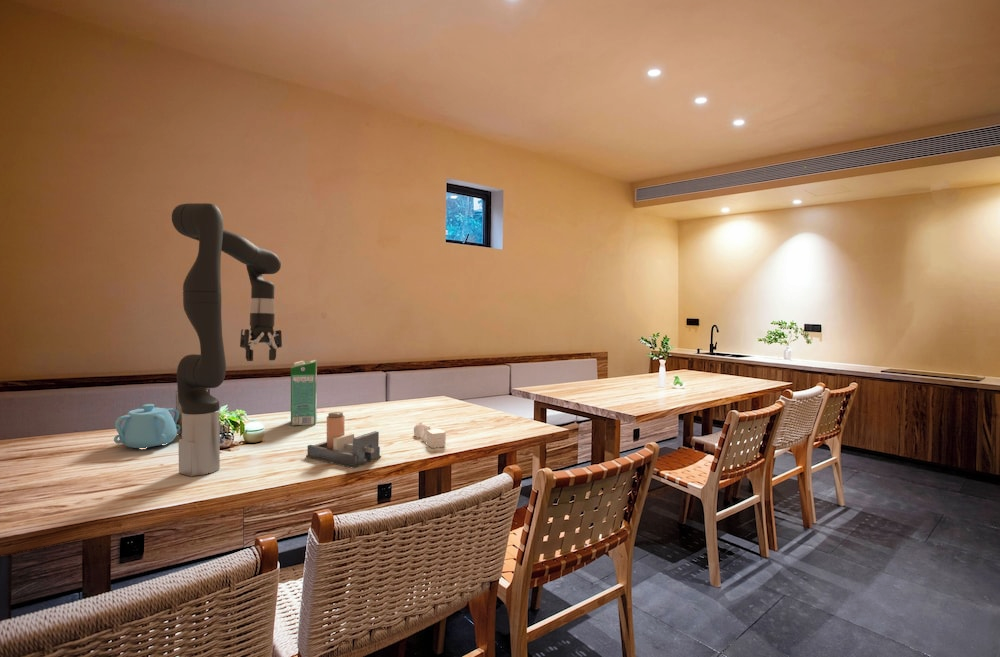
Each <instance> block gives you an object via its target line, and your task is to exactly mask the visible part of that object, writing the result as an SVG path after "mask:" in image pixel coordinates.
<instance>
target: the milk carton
mask: <svg viewBox="0 0 1000 657" xmlns="http://www.w3.org/2000/svg"><path fill="white" fill-rule="evenodd" d="M317 372H318V360H317V359H313V360H308V361H306V362H305V360H300V361H295V362H294V363H293V365H292V366H291V368H290V426H291V427H293V426H292V425H302V426H316V425H317V424H316V423H317V419H318V417H317V416H318V415H317V413H318V412H317V410H318V407H317V406H318V405H317V404H318V403H317V399H318V397H317V393H318V392H317V391H318V390H317V388H318V387H317V385H318V384H317V383H318V381H317V379H318V376H317V375H318V373H317Z"/></svg>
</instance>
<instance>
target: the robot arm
mask: <svg viewBox="0 0 1000 657" xmlns="http://www.w3.org/2000/svg"><path fill="white" fill-rule="evenodd" d="M223 219H224V217H223V214H222V212H221V209H220V208H219V206H217V205H216V204H214V203H208V202H207V203H206V202H204V203H201V202H200V203H192V202H190V203H182V204H179V205H176V206H175V207H174V208H173V210H172V213H171V221H172V225H173V227H174V228H175V230H176V231H177V232H178V233H179V234H180V235H183V236H185V237H187V238H190V239H193V240H195V241H198V252H197V256H196V259H195V261H194V263H193V264H192V266H191V267H190V269H189V271H188V273H187V275H186V276H185V279H184V281H183V285H182V303H183V306H182V307H183V311H184V312H185V314H186V317H187V319H188V320H189V322H190V324H191V325H192V327H193V329H194V331H195V333H196V334H197V338H198V340H199V347H200V348H199V350H200V354H194V353H193V354H188V355H184V356H183V357H182V358H181V359H180V361H179V362H178V365H177V369H176V386H177V391H178V400H179V403H180V405H181V408H182V435H181V438H180V439H178V473H179V474H182V475H185V476H188V477H192V478H193V477H196V476H203V475H207V474H208V473H209V474H211V473H215V472H217V471H219V469H221V460H220V459H221V456H220V455H221V454H220V452H221V450H220V448H221V447H220V445H221V444H220V442H221V441H220V436H221V435H220V434H221V433H220V431H221V430H220V401H219V399H218V398H216V397H214V396H212V395H211V393H210V394H209V393H208V392H207V390H206V389H216V388H218V387H220V386H221V385H222V384H223V382H224V380H225V377H226V373H227V363H226V356H225V354H226V353H225V349H224V348H225V347H224V340H223V325H222V324H223V323H222V322H223V321H222V285H221V284H222V283H221V282H222V280H221V279H222V278H221V269H222V268H221V265H222V264H221V263H222V261H221V260H222V252H223V253H224V254H227V255H228V256H230V257H232V258H233V259H235V260H237V261H238V262H240V263H242V264H243V265H245V266H246V270H247V275H248V278H249V283H250V286H251V288H250V291H251V292H250V295H251V296H250V304H249V326H250V329H249V328H248V329H247V328H245V329H240V340H239V347H240V348H241V349H242V348H243V349H244V350H245V359H246V361H247V362H252V361H254V348H255V347H256V345H258V343H262V344H263V343H265V345H267V346H268V348H269V350H268V360H269V361H275V360H276V358H277V349H279V348H282V347H283V344H282V330H281V329H280V330H279V329H274V326H275V319H276V318H275V316H276V315H275V314H276V312H275V309H276V305H275V284H274V283H273V282H272V281H269V280H268V281H267V280H265V279H264V277H263V275H274V274H277V273H279V271H280V270H281V268H282V263H281V260H280V258H279V256H278V255H277V254H276V253H274V252H273V251H271V250H268V249H265V248H263V247H260V246H257V245H256V244H254V243H253V242H252V241H250V240H248V239H247V238H245V237H243V236H242V235H239V234H237V233H234V232H231V231H228V230H225V229H224V220H223ZM209 474H208V475H209Z"/></svg>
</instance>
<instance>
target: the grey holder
mask: <svg viewBox="0 0 1000 657" xmlns="http://www.w3.org/2000/svg"><path fill="white" fill-rule="evenodd" d="M379 433H380V432H379V431H376V430H375V431H370V432H367V433H364V434H362V435H359V436H356V437H355V436H354V438H353V453H347V452H342V451H338V450H333V449H328V448H327V440H326V441H323V442H319V443H316V444H308V445H307V449H306V450H307V454H306V455H305V458H308V457H309V458H310V459H314V460H318V461H322V462H326V463H331V464H334V465H338V466H339V465H340V466H342V465H344V466H343V467H347V466H348V467H347V468H351V467H352V469H355V468H357V467H360V466H362V465H365V464H366V465H367V464H368V463H370V462H373V461H375V460H377V459H380V458H382V456H381V455H380V454H381V452H380V451H381V448H380V447H381V446H380V445H379V443H380V442H379V438H380V437H379V435H380V434H379ZM365 447H370V448H374V452H373V453H368V452H365Z"/></svg>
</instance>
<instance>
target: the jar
mask: <svg viewBox="0 0 1000 657" xmlns="http://www.w3.org/2000/svg"><path fill="white" fill-rule="evenodd" d="M345 421H346V420H345V415H344V412H340V411H334V412H333V411H332V412H329V413H328V415H327V416H326V441H327V448H328V449H333V438H336V437H340V436H343V435H345Z"/></svg>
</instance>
